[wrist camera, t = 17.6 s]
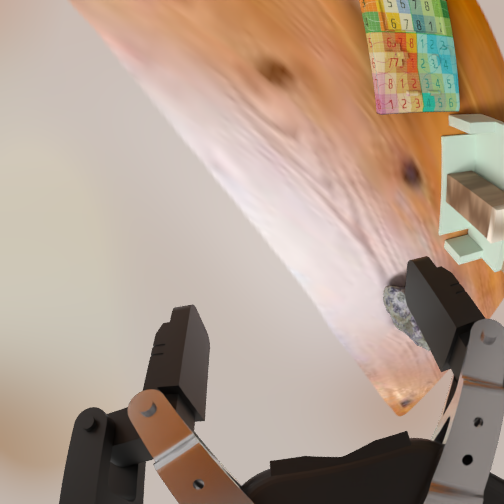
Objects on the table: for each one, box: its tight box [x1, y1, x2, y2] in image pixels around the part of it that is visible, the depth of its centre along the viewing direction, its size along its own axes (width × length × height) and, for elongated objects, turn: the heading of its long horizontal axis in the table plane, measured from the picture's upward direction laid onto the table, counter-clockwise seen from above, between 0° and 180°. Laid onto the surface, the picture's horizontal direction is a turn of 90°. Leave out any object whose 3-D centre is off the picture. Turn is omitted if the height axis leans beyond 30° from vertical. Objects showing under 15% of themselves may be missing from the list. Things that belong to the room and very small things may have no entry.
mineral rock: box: [383, 286, 430, 351], centre depth 48 cm, size 13×11×10 cm
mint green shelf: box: [439, 114, 504, 273], centre depth 36 cm, size 22×9×10 cm, turn 13°
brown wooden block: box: [446, 171, 504, 244], centre depth 35 cm, size 5×5×12 cm
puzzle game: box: [359, 0, 460, 115], centre depth 28 cm, size 12×5×20 cm
